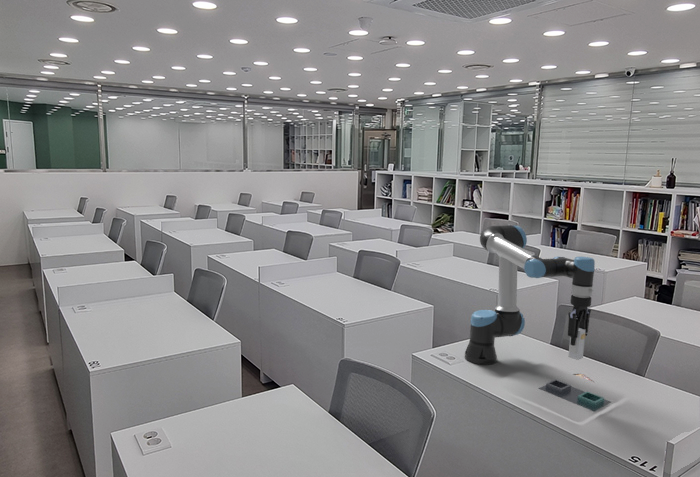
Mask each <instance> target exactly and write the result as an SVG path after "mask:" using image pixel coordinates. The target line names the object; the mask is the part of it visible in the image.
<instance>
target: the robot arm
mask: <svg viewBox="0 0 700 477" xmlns="http://www.w3.org/2000/svg"><path fill="white" fill-rule="evenodd" d="M479 242H480V245H481V247H482V248H483V249H484V250H486V251H487V252H489V253H490V254H497V256H498V258H499V259H498V296H497V297H498V298H497V300H498V304H497V305H496V306H495V307H494V310H491V309H480V310H476V311H474V312H473V313H472V314H471V316H470V318H471V319H470V329H469V332H470V333H469V341H468V344H467V346H466V349H465V351H464V358H465V360H466V361H468V362H469V363H473V364H476V365H484V366H486V365H488V366H489V365H493V364H496V362H497V360H498V356H497V351H496V348H495V338H496V339H497V338H504V337H513V336H518V335H520V334H521V333H522V332H523V331H524V328H525V324H526V322H525V317H524V315H523V313H522V312H520V310H521V309H520V308H519V307H518V306H517V302H518V301H517V300H518V299H517V298H518V297H517V296H518V295H517V294H518V292H517V291H518V267H519V268H521V269H523V270H524V273H525V275H526V276H527V278H531V279H532V278H534V279H543V278H555V277H559V278H560V277H566V278H570V279H572V282H571V296H570V304H571V305H573V308H572V312H568V326H567V336H568V337H569V338H570V337H571V341H570V340H569V345H570V352H572V353H575V354H577V346H578V338H577V335H578V330H579V328H581V329H585V337H587V336H588V333H589V324H590V316H591V312H592V309H591V308H589V307H591V305H592V297H591V296H593V295H592V294H593V291H594V289H593V284H594V275H595V271H596V269H595V259H594V258H593V257H589V256H576V257H574V259H571V258H567V257H565V256H554V257H553V258H541V257H539V256H538V255H536V254H534V253H533V252H530V251H529V250H526V249H525V247H526V245H527V242H528V241H527V234H526V231H525V230H524V229H523V228H522V227H521V226H518V225H511V224H510V225H490V226H487V227H485V228H483V230H482V231H481V233H480V235H479Z"/></svg>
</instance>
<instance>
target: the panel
mask: <svg viewBox="0 0 700 477" xmlns="http://www.w3.org/2000/svg"><path fill="white" fill-rule="evenodd" d="M538 390H541V391H544V392H545V393H547V394H548V393H549V394H551V395H553V396H555V397H557V398H561V399H563V400H565V401H568V402H570V403H572V404H574V405H577V406H580V407H582V408H585V409H588V410H589V411H592V412H596V411H598V410H599V409H602V408H603V407H605V406H607V405H609V404H610V403H611V401H610V400H608V399H605V397H603V396H600V395H598V394H595V393H592V392H589V391H584V390H582V389H579V388H577V387H574V386H572V385H571V384H569V383H566V382H564V381H561V380H559V379H553V380H550V381H548V382H545V385H543V386H540V387H538Z"/></svg>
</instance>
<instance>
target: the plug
mask: <svg viewBox="0 0 700 477" xmlns="http://www.w3.org/2000/svg"><path fill="white" fill-rule="evenodd" d="M577 338H578V346H577V354H575V353H572V352H570V344H569V347H568V358H570V359H573V360H575V361H580V360H582V359H583V358H584V350H585V339H586V336H585V329H581V328H579V330H578V335H577ZM570 341H571V337H570V336H569V342H570Z"/></svg>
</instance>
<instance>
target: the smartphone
mask: <svg viewBox="0 0 700 477" xmlns="http://www.w3.org/2000/svg"><path fill="white" fill-rule="evenodd" d="M572 375H573V376H576V377H579V378H581V379H585V380H587V381H589V382H593V383H595V381H594V380H592V379H591V378H590V377H588V376H587V375H585V374H583V373H573V374H572Z"/></svg>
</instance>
